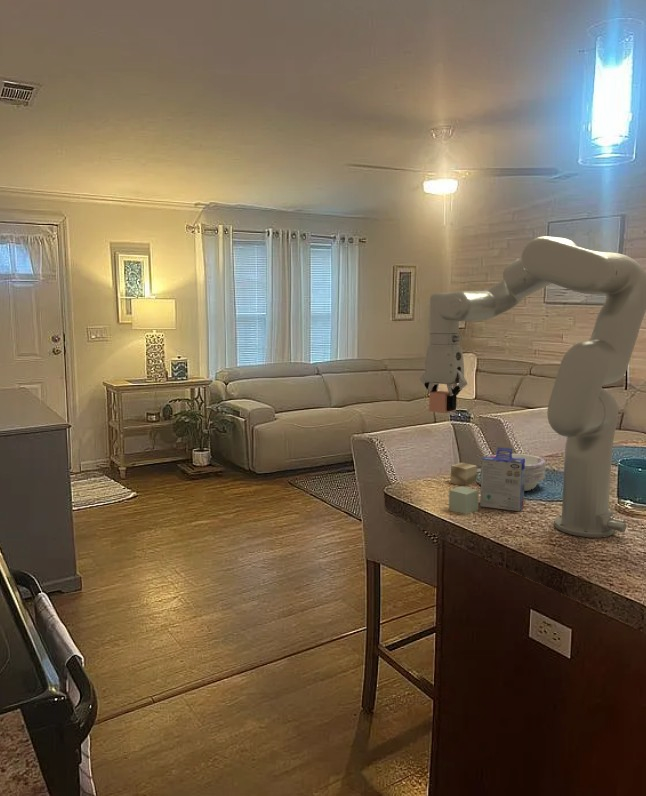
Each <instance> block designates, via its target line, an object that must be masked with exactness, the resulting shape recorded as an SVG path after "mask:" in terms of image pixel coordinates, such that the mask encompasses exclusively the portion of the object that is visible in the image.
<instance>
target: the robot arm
mask: <svg viewBox="0 0 646 796" xmlns="http://www.w3.org/2000/svg"><path fill="white" fill-rule="evenodd" d="M552 284H553V285H556V286H558V287H561V288H565V289H566V290H570V291H573V292H576V293H578V294H579V293H580V294H584V295H605V296H606V297H605V301H604V304H603V305H602V306H601V309H600V310H599V312H598V314H597V316H596V319H595V323H594V327H593V330H592V332H591V335H590V337H589V340H585V341H582V342H578V343H575V344H574V345H573V346H570V348H569V349H568V350H567V351H566V352H565V354H564V355H563V357H562V359H561V361H560V364H559V367H558V370H557V374H556V378H555V381H554V384H553V387H552V390H551V393H550V397H549V401H548V405H547V410H546V411H547V413H546V414H547V420H548V424H549V425H550V428H551V429H552V430H553V431H554V432H555V433H557V434H558V435H559V436H563V437H567V438H566V442H565V449H564V462H563V463H564V464H563V483H562V499H561V500H562V505H561V515H558V516H556V517H555V518H554V519H553V520H554V521H553V525H554V527H555V528H556V529H558V530H559V531H561V532H563V533H566V534H568V535H572V536H576V537H582V538H594V539H595V538H598V539H599V538H606V537H610V536H612V535H614V534H615V532H616V531H618V532H620V533H625V532H626V529H627V524H626V520H624V519H620V518H615V516H614V510H610V509H609V508H610V506H609V505H610V491H611V490H610V489H611V473H612V460H613V447H614V446H613V445H614V438H615V433H616V429H617V425H618V419H619V405H618V402H617V399H616V398H615V396H614V395H613V394H612V393H611V392H609V391H608V390H606V389H604V388H603V386H606V385H607V386H608V385H611V384H614V383H616V382H618V381H619V380H621V379H622V378H623V377H624V376H625V374H626V372H627V370H628V367H629V365H630V360H631V358H632V354H633V351H634V348H635V345H636V343H637V339H638V336H639V331H640V328H641V326H642V322H643V320H644V317H645V314H646V270H645V269H644V268H643V267H642V265H641V264H640V263H639V262H638V261H636V260H635V259H634V258H632V257H630V256H628V255H625V254H622V253H618V252H609V251H598V250H591V249H586V248H584V247H580V246H578V245H577V244H576V243H575V242H574V241H573V240H571V239H568V238H564V237H558V236H550V235H549V236H548V235H545V236H544V235H543V236H538V237H536V238H533V239H532V240H530V241H529V242H528V243H526V245H525V246H524V248H523V250H522V252H521V257H520V258H517V259H515V260H514V261H512V262H511V263H508V264H507V265H506V266H505V267H504V268H503V272H502V280H501V281H499V282H498V283H496V284H495V285H492V286H491V287H489V288H486V289H484V290H459V291H452V292H451V291H450V292H447V291H446V292H445V291H443V292H434V293H432V294H431V295H430V297H429V328H428V329H429V332H428V333H429V336H428V338H429V341H428V344H427V346H426V347H427V348H426V350H425V351H426V352H425V360H424V371H423V374H422V376H421V377H420V382H421V383H422V384H423V385H424V388H425V389H426V390H427V393H428V394H429V392H436V391H439V390H438V389H439V386H440V384H441V385H446V386H447V391H448V393H449V396H447V411H452V410H456V411H457V397H458V395H459V394H460V392H461V391H462V390H463V389H464V388H465V387H466V386H468V381H467V379H466V378H465V364H464V363H465V362H464V353H463V348H462V346H461V345H459V344H460V343H459V342H462V341H463V340H462V336H459V331H460V330H459V328H460V327H459V326H460V322H474V321H475V322H476V321H480V322H481V321H487V320H490V319H493V318H495V317H498V316H499V315H502V314H503V313H505V312H508V311H509V310H511V309H513V308H514V307H516V306H518V304H520V303H521V302H522V301H523V299H524V298H526V297H528V296H529V295H532V294H534V293H535V292H537V291H540V290H541V289H543V288H546V287H548V286H550V285H552Z"/></svg>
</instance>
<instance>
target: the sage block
mask: <svg viewBox="0 0 646 796" xmlns="http://www.w3.org/2000/svg"><path fill="white" fill-rule="evenodd" d="M479 496H480V495H479V489H474V488H471V487H467V486H462V485H459V486H457V487H455V488H452V489H449V490H448V510H449V511H452V512H456V513H459V512H460V513H459V514H463V515H468V514H470V513H474V512H476V511H478V510H479ZM473 511H474V512H473Z"/></svg>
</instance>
